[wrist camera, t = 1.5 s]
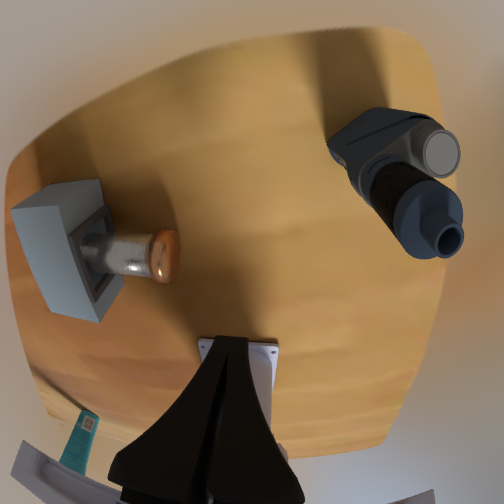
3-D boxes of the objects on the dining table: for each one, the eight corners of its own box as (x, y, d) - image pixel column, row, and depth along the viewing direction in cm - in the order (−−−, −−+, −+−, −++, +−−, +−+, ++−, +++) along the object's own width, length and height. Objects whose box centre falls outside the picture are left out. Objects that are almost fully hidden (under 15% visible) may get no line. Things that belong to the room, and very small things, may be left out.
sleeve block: (77, 278, 23) (51, 311, 19) (49, 184, 18) (10, 209, 14) (129, 284, 23) (104, 324, 19) (104, 177, 18) (63, 204, 13)
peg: (107, 258, 21) (86, 284, 18) (97, 220, 19) (71, 243, 16) (182, 263, 20) (168, 294, 17) (177, 221, 18) (158, 247, 15)
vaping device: (317, 145, 16) (395, 233, 6) (378, 100, 14) (521, 126, 4) (341, 175, 17) (427, 295, 7) (399, 132, 15) (537, 199, 4)
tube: (82, 412, 49) (59, 471, 32) (75, 404, 46) (51, 467, 30) (106, 422, 49) (86, 485, 32) (101, 415, 46) (78, 482, 30)
